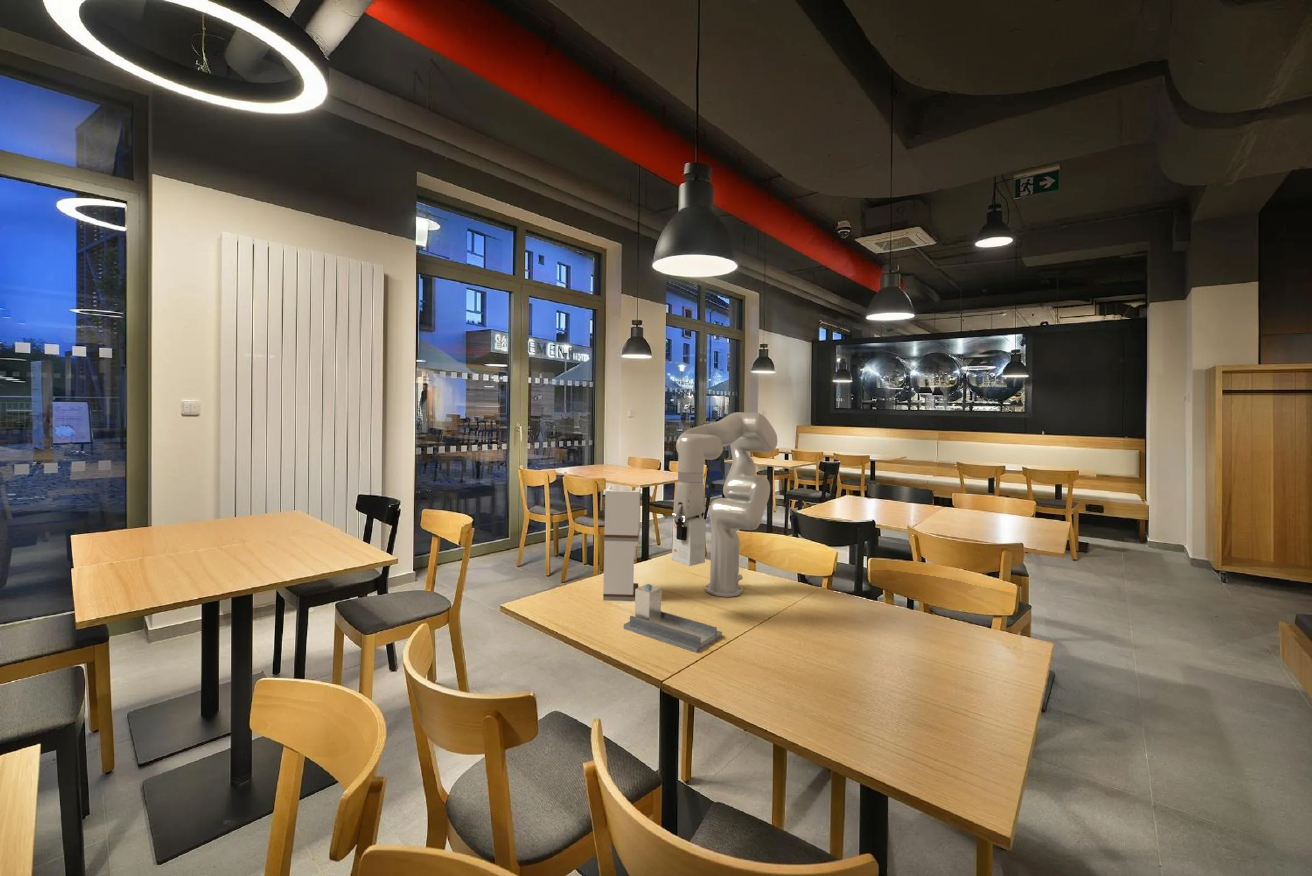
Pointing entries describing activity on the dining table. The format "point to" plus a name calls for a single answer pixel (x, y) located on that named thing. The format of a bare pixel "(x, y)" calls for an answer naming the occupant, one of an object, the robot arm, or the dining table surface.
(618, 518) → the tall banded cabinet
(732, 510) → the robot arm
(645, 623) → the rail board
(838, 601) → the dining table surface
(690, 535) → the small box
